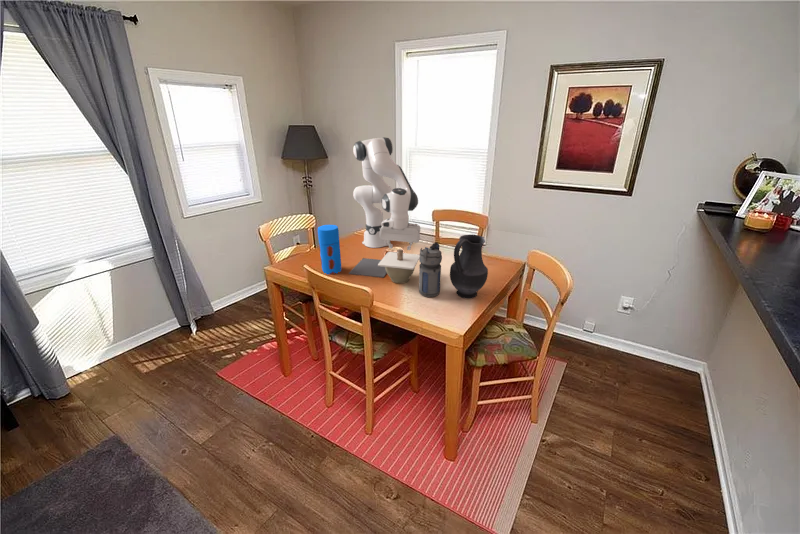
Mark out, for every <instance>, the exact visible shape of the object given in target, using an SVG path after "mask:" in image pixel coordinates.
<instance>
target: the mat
mask: <svg viewBox="0 0 800 534" xmlns="http://www.w3.org/2000/svg"><path fill="white" fill-rule="evenodd" d="M381 260H382V259H378V258H377V259H375V258H368V257H367V258H364V257H363V258H362V259H361V260H360V261H359V262H358V263H357V264H356V265H355V266H354V267H353V268H352V269H351V270H350V271H349V272H348V275H355V276H363V277H364V276H365V277H373V278H379V279H384V278H385V276H386V275H388V274H387V272H386V269H385V267H383V266H378V264H379V262H380V261H381Z"/></svg>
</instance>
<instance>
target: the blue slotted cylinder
mask: <svg viewBox="0 0 800 534" xmlns="http://www.w3.org/2000/svg"><path fill="white" fill-rule="evenodd" d="M317 237H318V238H317V239H318V246H319V247H318V248H319V255H320V265H321V271H323V272H324V273H323V272H322V273H323V274H325V273H326V274H325V275H335V273H336V274H339V273H340V272H342V257H341V256H342V255H341V247H340V246H341V245H340V234H339V226H338V225H336V224H323V225H321V226H318V227H317ZM338 272H339V273H338Z"/></svg>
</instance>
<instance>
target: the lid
mask: <svg viewBox="0 0 800 534" xmlns="http://www.w3.org/2000/svg"><path fill="white" fill-rule="evenodd" d="M380 260H381V261H380V262H379V264H378V266H383V267H392V268H402V269H412V270H413V269H414V267H415V268H416V265H417V264H418V262H419V261H420V253H419V254H417V253H407V252H404V250H403V249H402V248H399V249H397V250H396V251H388V252H386V254H385V255H384V256H383V257H382V259H380ZM414 270H415V269H414Z"/></svg>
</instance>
